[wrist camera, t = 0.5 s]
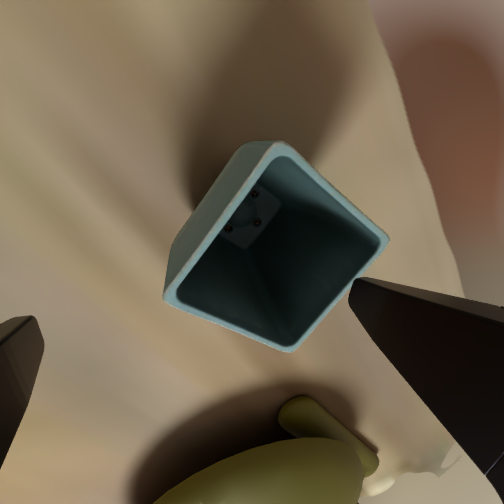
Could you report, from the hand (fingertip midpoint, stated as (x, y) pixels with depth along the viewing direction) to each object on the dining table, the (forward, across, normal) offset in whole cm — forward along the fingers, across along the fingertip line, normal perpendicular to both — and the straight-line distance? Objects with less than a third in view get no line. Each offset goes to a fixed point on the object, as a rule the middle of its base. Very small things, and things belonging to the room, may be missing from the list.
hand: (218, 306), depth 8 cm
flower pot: (+14, +4, -2) cm, 14 cm away
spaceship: (+13, +8, -43) cm, 46 cm away
